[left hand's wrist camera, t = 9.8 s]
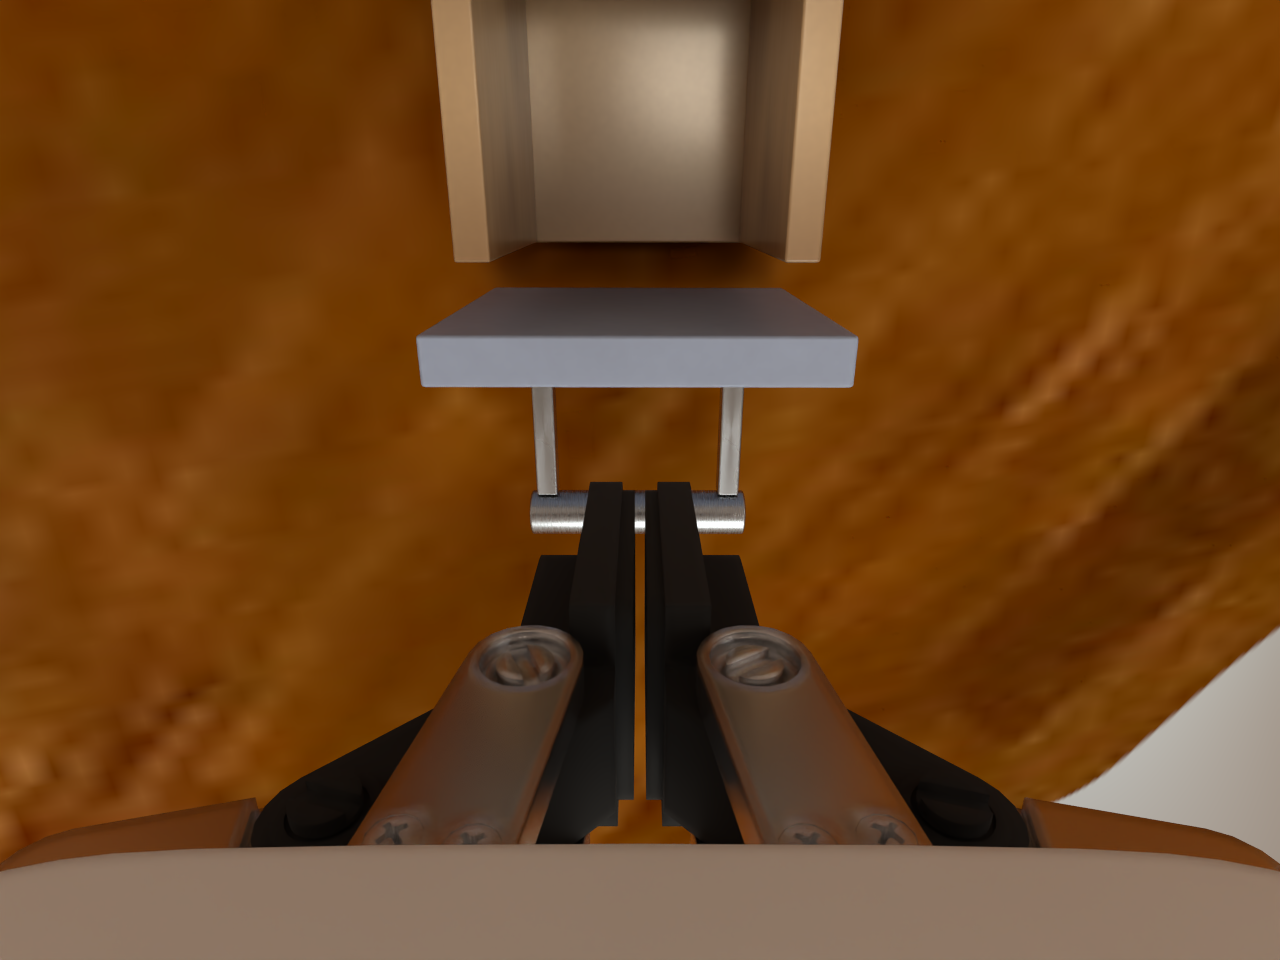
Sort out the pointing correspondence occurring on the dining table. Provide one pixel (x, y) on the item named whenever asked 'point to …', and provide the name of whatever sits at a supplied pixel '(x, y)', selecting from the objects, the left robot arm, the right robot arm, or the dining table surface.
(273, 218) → the dining table surface
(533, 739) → the left robot arm
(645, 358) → the drawer
